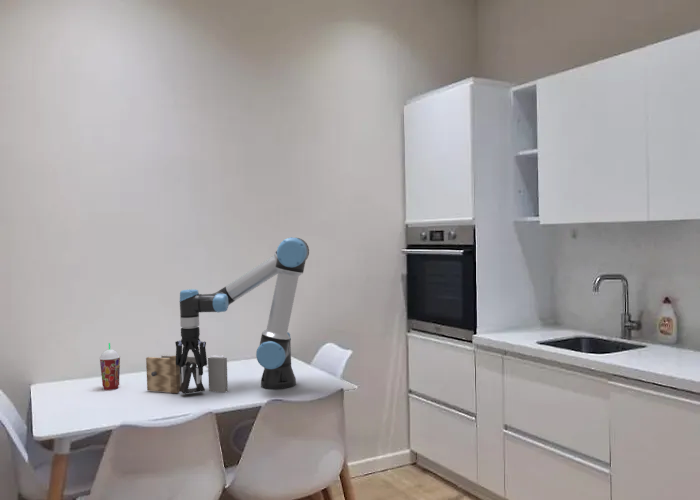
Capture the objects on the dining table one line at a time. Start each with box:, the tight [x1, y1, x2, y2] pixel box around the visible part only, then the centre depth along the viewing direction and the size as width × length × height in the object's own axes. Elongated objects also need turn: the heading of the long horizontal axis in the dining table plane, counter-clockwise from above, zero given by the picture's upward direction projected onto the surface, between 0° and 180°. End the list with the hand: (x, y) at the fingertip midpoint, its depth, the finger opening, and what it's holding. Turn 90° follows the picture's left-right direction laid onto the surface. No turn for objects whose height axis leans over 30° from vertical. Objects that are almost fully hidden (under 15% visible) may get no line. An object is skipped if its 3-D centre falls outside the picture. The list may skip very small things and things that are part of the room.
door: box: [145, 356, 181, 394], centre depth 263 cm, size 16×3×15 cm, turn 69°
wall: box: [160, 354, 229, 393], centre depth 267 cm, size 32×2×14 cm, turn 68°
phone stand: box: [180, 361, 206, 395], centre depth 258 cm, size 9×6×12 cm, turn 119°
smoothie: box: [99, 342, 121, 391], centre depth 274 cm, size 8×8×20 cm
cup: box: [205, 354, 225, 369], centre depth 306 cm, size 8×10×7 cm
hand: (191, 382), depth 258 cm, fingers closed on phone stand, 6 cm apart
